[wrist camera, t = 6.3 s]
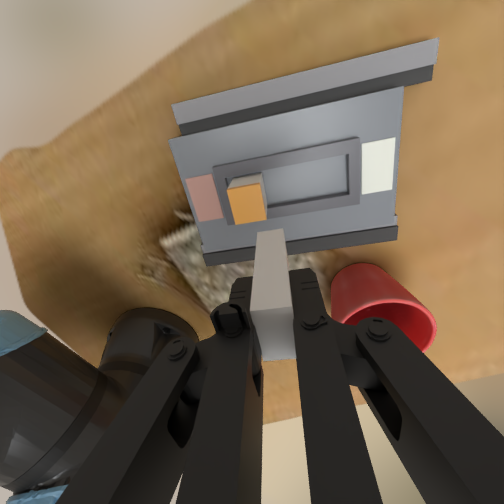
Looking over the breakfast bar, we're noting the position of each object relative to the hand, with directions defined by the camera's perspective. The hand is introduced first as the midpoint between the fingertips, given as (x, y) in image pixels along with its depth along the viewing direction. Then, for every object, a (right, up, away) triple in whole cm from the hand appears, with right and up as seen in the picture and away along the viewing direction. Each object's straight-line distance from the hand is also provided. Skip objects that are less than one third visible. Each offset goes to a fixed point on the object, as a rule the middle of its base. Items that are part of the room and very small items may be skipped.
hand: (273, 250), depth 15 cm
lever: (-1, +6, +12) cm, 14 cm away
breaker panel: (+3, +9, +14) cm, 17 cm away
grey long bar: (+3, +16, +10) cm, 19 cm away
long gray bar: (+4, +1, +18) cm, 19 cm away
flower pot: (+14, -5, +21) cm, 26 cm away
